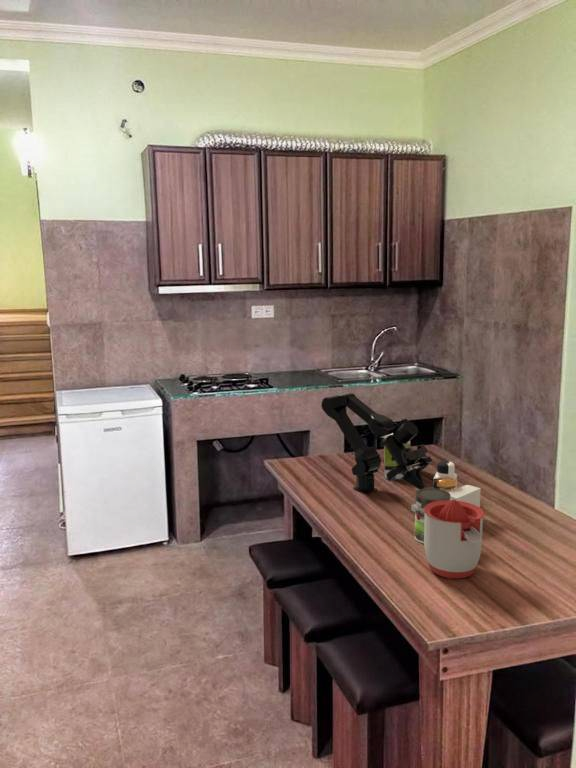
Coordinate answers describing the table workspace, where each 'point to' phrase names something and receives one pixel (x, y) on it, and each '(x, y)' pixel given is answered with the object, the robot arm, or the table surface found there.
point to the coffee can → (421, 501)
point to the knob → (446, 483)
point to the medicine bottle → (444, 472)
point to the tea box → (388, 462)
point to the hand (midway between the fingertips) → (423, 489)
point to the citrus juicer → (453, 537)
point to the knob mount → (463, 495)
